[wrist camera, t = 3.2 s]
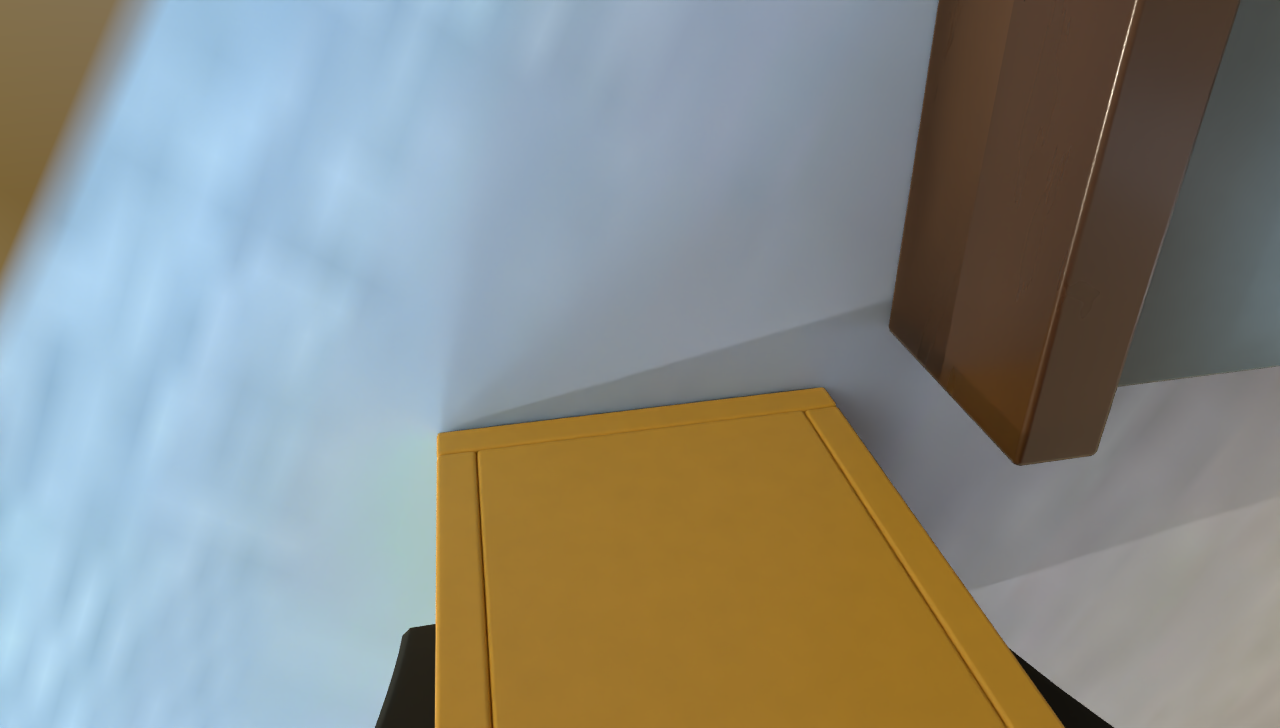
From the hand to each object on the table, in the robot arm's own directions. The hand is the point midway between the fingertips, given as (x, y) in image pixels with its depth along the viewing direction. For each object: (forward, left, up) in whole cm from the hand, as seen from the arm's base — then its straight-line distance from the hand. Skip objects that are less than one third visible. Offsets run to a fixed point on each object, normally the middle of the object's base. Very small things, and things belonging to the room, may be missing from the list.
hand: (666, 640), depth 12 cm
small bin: (0, 0, -2) cm, 2 cm away
